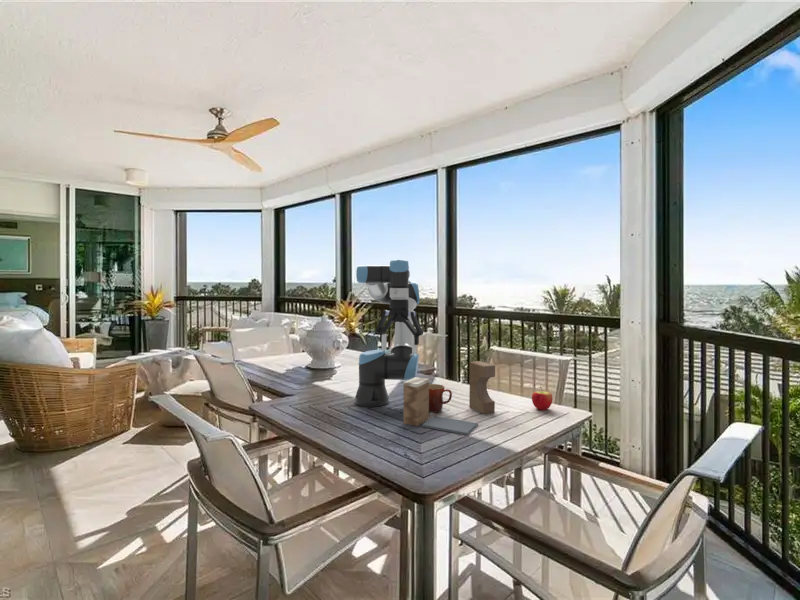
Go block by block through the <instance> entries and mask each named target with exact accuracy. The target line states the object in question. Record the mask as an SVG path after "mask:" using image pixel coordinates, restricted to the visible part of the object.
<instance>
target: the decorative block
mask: <svg viewBox="0 0 800 600" xmlns="http://www.w3.org/2000/svg"><path fill="white" fill-rule="evenodd" d="M494 377H496V365H495V364H492V363H489V362H488V363H487V362H485V361H481V360H476V361H470V362H469V399H468V400H469V403H468V404H469V408H470V409H472V410H474V411H476V412H479V413H481V414H483V415H488V414H495V412H496V411H495V407H496V405H495V403H496V402H495V400H493V399H492V398H491V397H490V394H489V392H488V387H487V386H488V385H487V384H488V381H489V379H491V378H494Z"/></svg>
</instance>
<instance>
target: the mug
mask: <svg viewBox="0 0 800 600" xmlns="http://www.w3.org/2000/svg"><path fill="white" fill-rule="evenodd" d="M445 392H447V393H449V397H448V399H447V400H444V397H443V396H444V393H445ZM452 397H453V392H452V390H451V389H450V388H445V385H443V384H438V383H429V413H440V412H441V411H442V410H443V407H444V405H445V404H448V403H450V402H451V400H452Z"/></svg>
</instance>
